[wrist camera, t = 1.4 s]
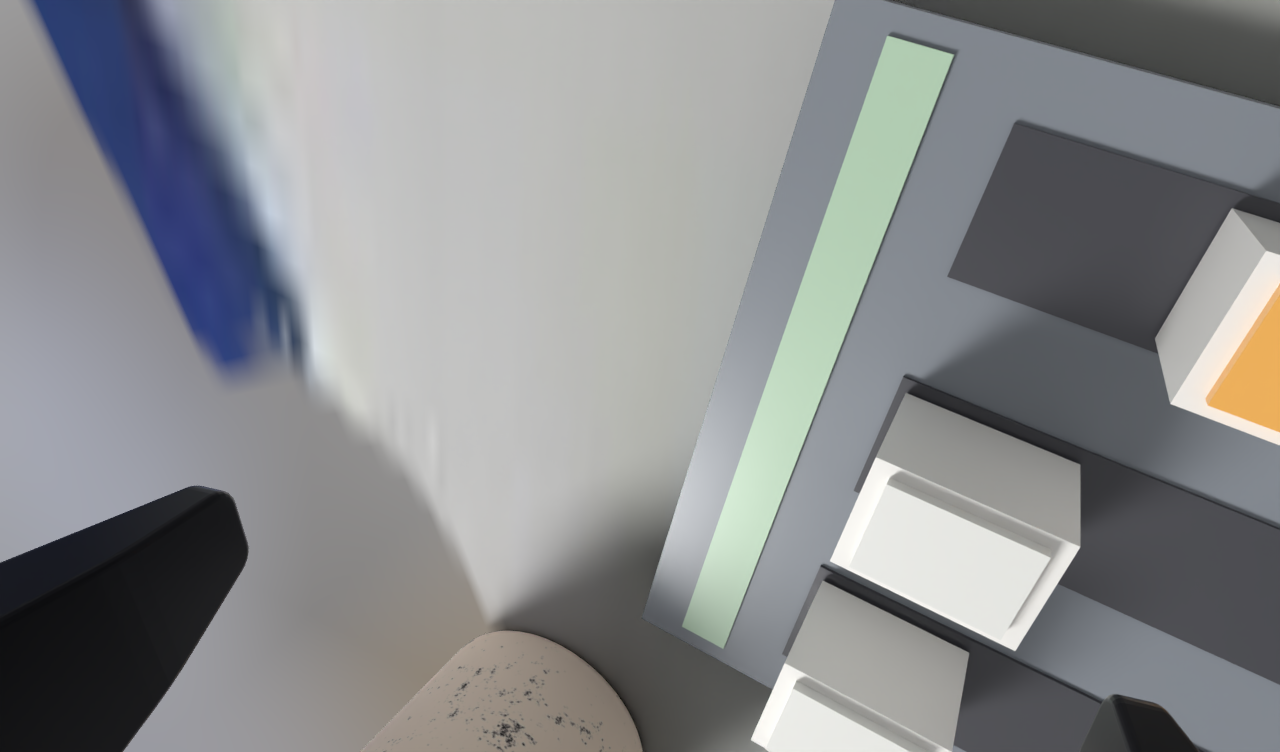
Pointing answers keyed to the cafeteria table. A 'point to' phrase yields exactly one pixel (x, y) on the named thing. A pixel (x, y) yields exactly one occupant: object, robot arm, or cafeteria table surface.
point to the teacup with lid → (512, 703)
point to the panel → (996, 372)
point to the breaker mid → (964, 521)
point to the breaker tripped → (1229, 331)
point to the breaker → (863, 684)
